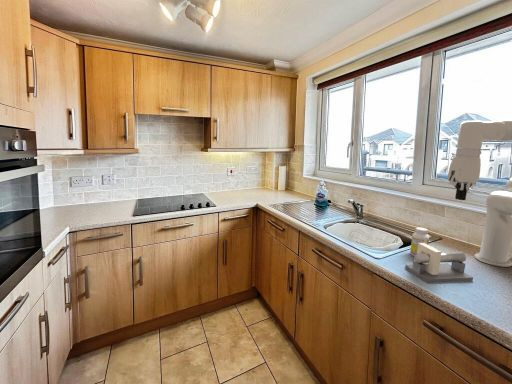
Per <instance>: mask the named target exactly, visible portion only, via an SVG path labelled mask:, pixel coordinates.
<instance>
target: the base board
mask: <svg viewBox="0 0 512 384" xmlns="http://www.w3.org/2000/svg"><path fill="white" fill-rule="evenodd" d="M451 265H452V264H450V263H449V262H444V263H440V266H439V272H438V274H434V275H432V274H430V273H429V272H427V271H426V270H425V271H424V274H418V273H417V272H416V271H414V270H413V269H412V267H413V264H405V266H404V267H405V268H404V269H405V270H407V271H408V272H410V273H411V274H412V275H414V276H416V277H417V278H419V280H421V281H423V283H426V284H433V283H434V284H437V283H439V284H440V283H458V282H460V283H462V282H463V283H464V282H473V281H474V277H473V276H471V275H469V274H468V273H466V272H464V273H459V272H457V271H455V270H454V269H452V268H451Z"/></svg>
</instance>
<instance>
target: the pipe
mask: <svg viewBox="0 0 512 384" xmlns="http://www.w3.org/2000/svg"><path fill="white" fill-rule="evenodd" d="M413 257H414V260H412V261H413V262H412V265H413V267H412V269H413V270H414V271H416V272H417V273H418V274H424V271H425V264H423V263H429V261H430V254H428V253H424V254H415V256H413ZM466 260H467V256H466V254H465V253H463V252H442V253H441V259H440V264H444V263H451V264H450V265H451V268H452V269H454V270H455V271H457V272H459V273H465V269H466Z"/></svg>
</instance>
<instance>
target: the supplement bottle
mask: <svg viewBox="0 0 512 384" xmlns="http://www.w3.org/2000/svg"><path fill="white" fill-rule="evenodd" d="M411 237H412V238H411V244H410V255H412V256H413V257H414V256H415V254H417V249H418V243H425V244H427V245H429V241H430V235H428V228H426V227H421V226H420V227H415V232H414V233H412V236H411Z"/></svg>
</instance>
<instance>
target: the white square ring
mask: <svg viewBox="0 0 512 384" xmlns="http://www.w3.org/2000/svg"><path fill="white" fill-rule="evenodd" d="M424 253H428V254H430V261H429V263H423V264H425V270H426V271H427V272H429V273H430V274H432V275H434V274H438V272H439V266H440V264H441V263H440V259H441V253H443V251H440V249H437V248H435V247H433V246H431V245H429V244H428V245H427V244H425V243H418V249H417V254H424Z"/></svg>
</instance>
